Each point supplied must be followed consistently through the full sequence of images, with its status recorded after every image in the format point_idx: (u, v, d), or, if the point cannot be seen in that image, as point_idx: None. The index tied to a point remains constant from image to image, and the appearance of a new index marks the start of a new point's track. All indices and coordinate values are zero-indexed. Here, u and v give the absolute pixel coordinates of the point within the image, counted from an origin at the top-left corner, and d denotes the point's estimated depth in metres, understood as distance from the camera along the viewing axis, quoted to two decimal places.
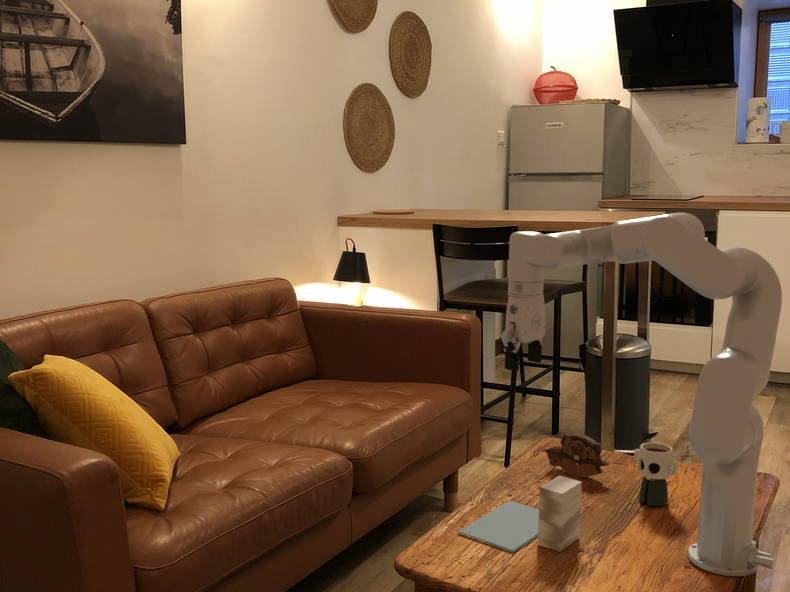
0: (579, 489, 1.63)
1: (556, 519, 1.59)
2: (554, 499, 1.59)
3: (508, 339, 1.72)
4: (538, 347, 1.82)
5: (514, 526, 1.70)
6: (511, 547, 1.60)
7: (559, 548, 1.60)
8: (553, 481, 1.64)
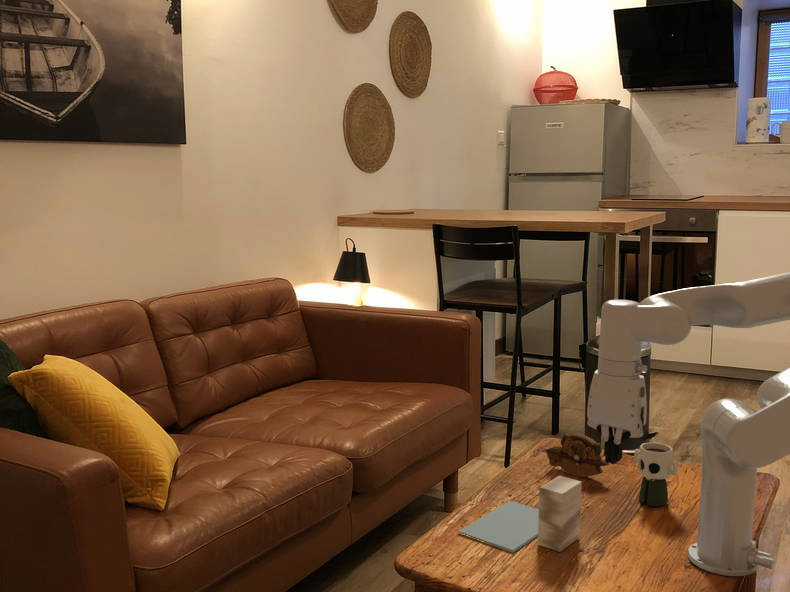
0: (579, 489, 1.63)
1: (556, 519, 1.59)
2: (554, 499, 1.59)
3: None
4: None
5: (514, 526, 1.70)
6: (511, 547, 1.60)
7: (559, 548, 1.60)
8: (553, 481, 1.64)
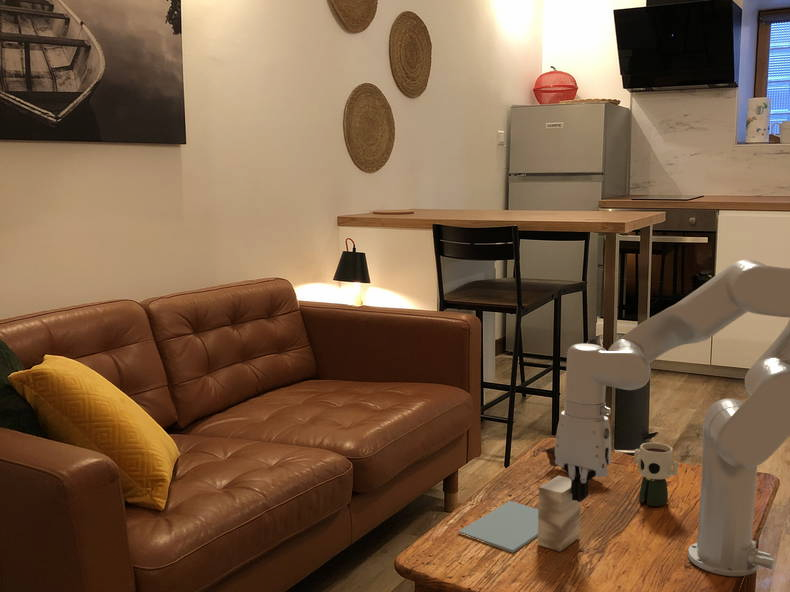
0: None
1: (555, 518, 1.59)
2: (553, 499, 1.59)
3: None
4: None
5: (514, 526, 1.70)
6: (511, 547, 1.60)
7: (559, 548, 1.60)
8: (553, 481, 1.64)
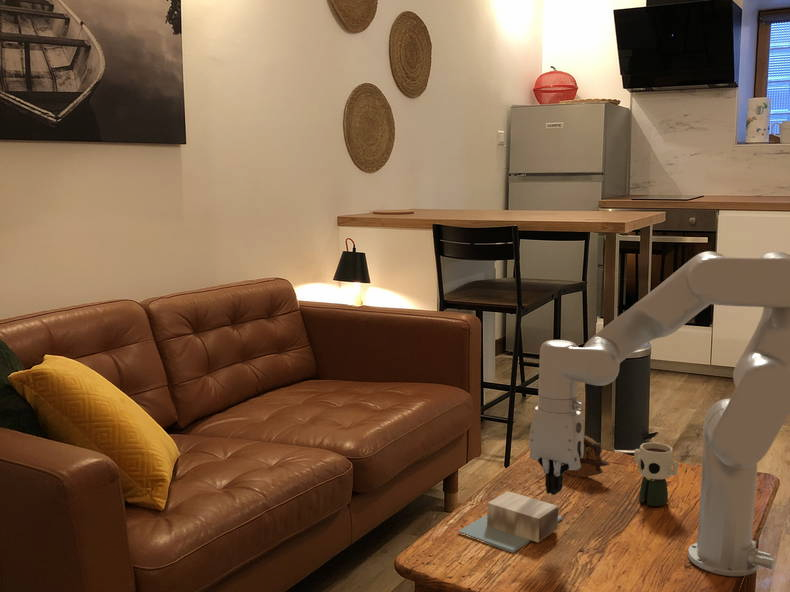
0: (511, 493, 1.74)
1: (510, 515, 1.66)
2: (494, 513, 1.69)
3: None
4: None
5: None
6: (511, 547, 1.60)
7: (535, 518, 1.62)
8: None
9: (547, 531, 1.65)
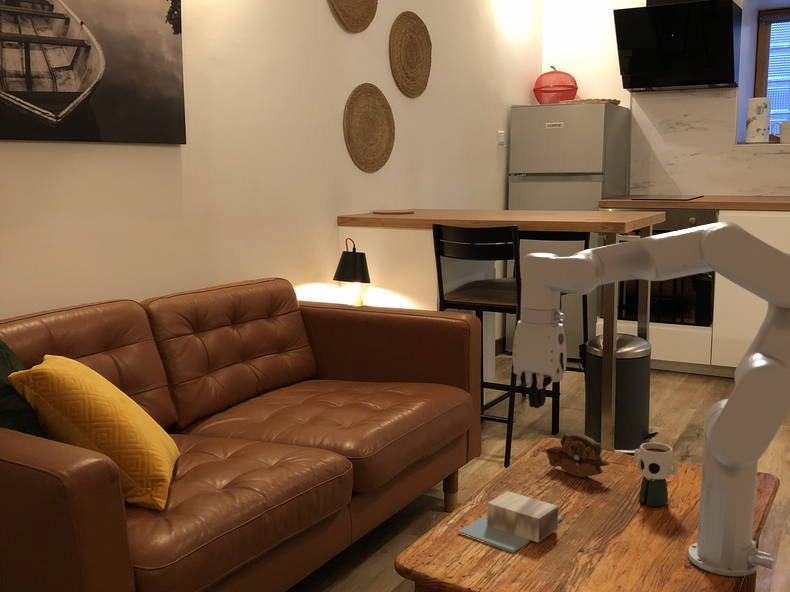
0: (511, 493, 1.74)
1: (510, 515, 1.66)
2: (494, 513, 1.69)
3: None
4: None
5: None
6: (511, 547, 1.60)
7: (535, 518, 1.62)
8: None
9: (547, 531, 1.65)
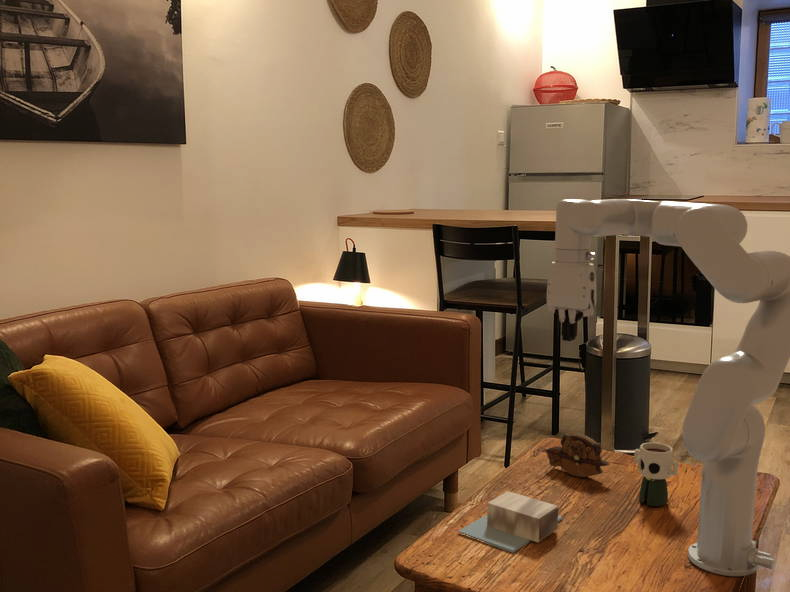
0: (511, 493, 1.74)
1: (510, 515, 1.66)
2: (494, 513, 1.69)
3: None
4: None
5: None
6: (511, 547, 1.60)
7: (535, 518, 1.62)
8: None
9: (547, 531, 1.65)
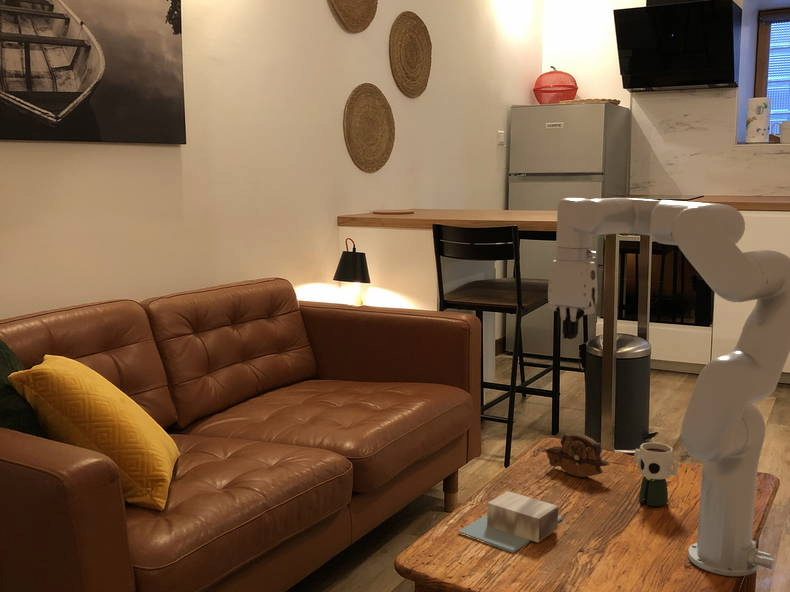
0: (511, 493, 1.74)
1: (510, 515, 1.66)
2: (494, 513, 1.69)
3: None
4: None
5: None
6: (511, 547, 1.60)
7: (535, 518, 1.62)
8: None
9: (547, 531, 1.65)
